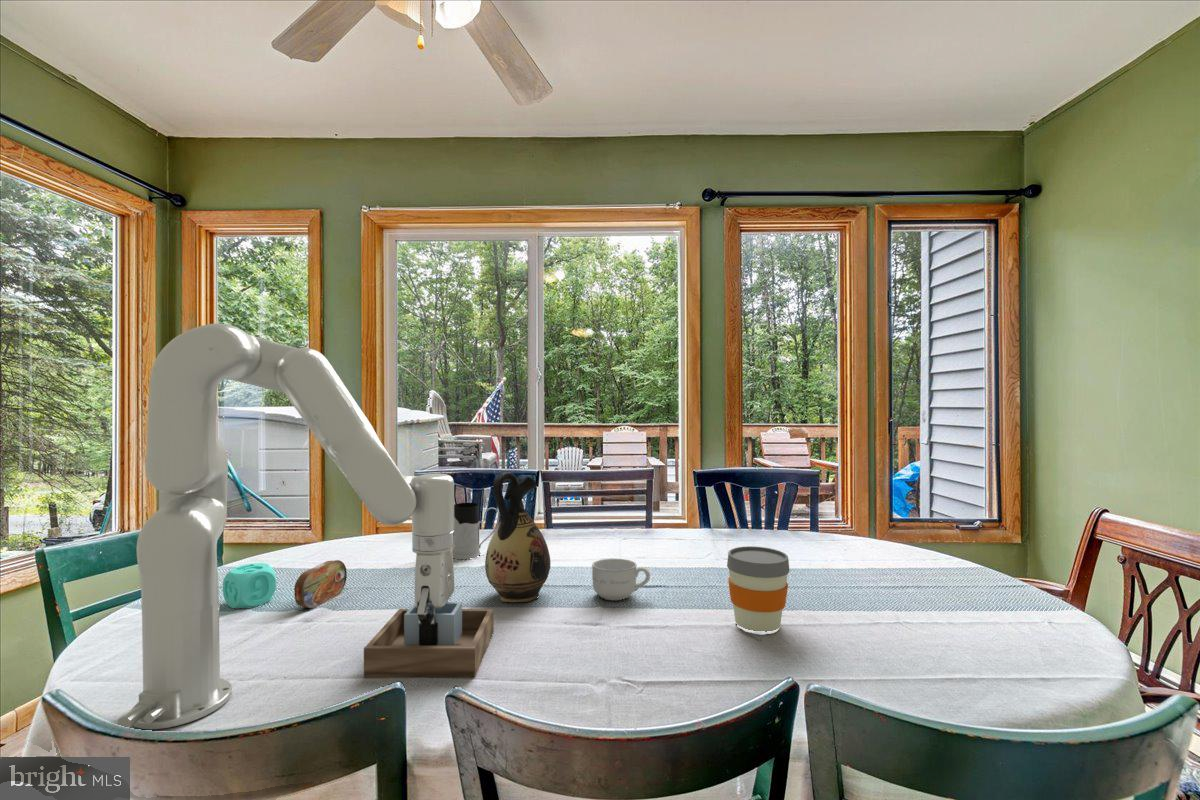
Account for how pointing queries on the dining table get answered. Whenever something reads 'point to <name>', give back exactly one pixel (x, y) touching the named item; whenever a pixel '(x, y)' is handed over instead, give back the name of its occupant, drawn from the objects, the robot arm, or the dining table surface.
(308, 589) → the tin
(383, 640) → the tray
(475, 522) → the glass holder
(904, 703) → the dining table surface
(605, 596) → the teacup
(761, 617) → the reusable coffee cup
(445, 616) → the small crate
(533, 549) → the ceramic jug
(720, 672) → the dining table surface
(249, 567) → the decorative dice
